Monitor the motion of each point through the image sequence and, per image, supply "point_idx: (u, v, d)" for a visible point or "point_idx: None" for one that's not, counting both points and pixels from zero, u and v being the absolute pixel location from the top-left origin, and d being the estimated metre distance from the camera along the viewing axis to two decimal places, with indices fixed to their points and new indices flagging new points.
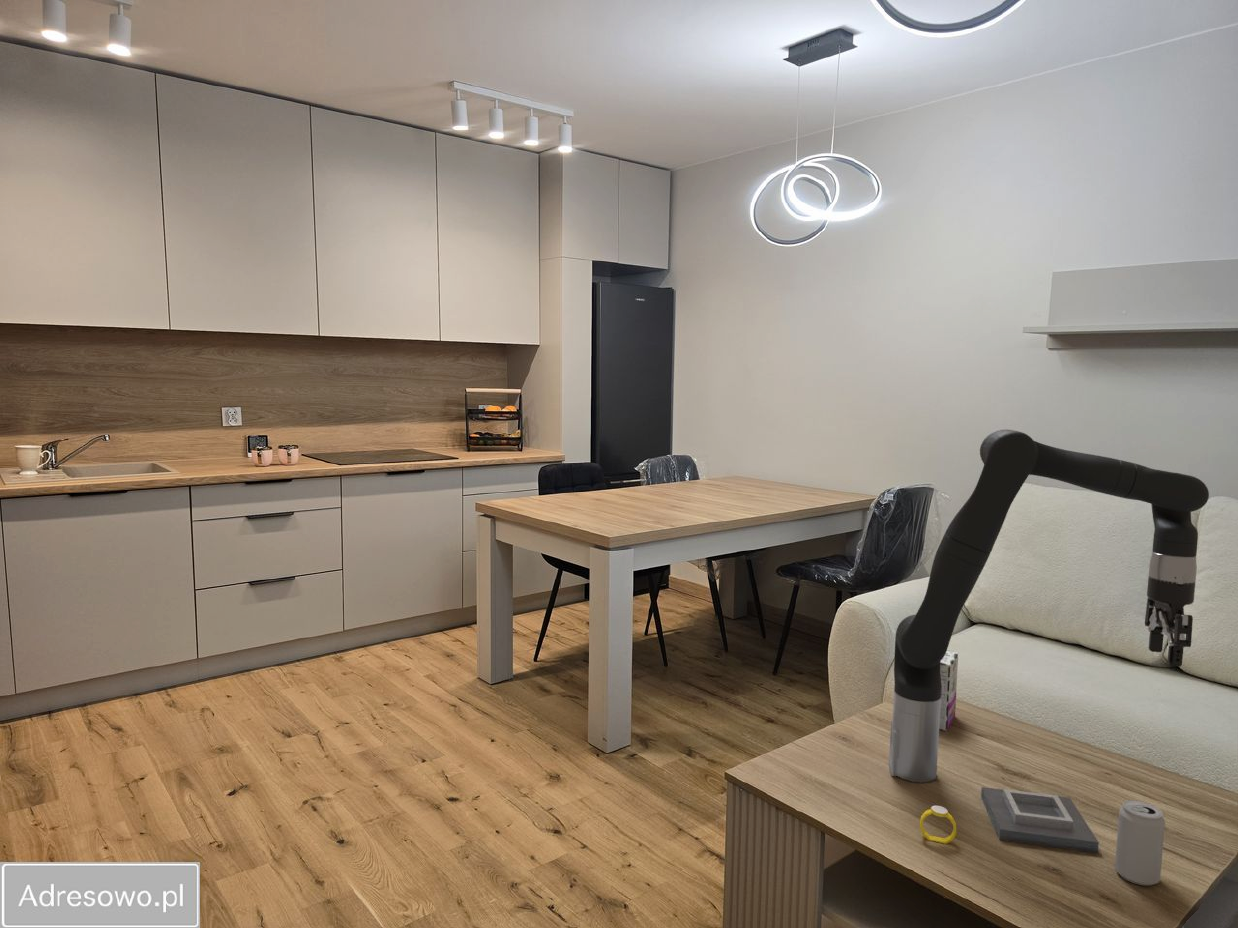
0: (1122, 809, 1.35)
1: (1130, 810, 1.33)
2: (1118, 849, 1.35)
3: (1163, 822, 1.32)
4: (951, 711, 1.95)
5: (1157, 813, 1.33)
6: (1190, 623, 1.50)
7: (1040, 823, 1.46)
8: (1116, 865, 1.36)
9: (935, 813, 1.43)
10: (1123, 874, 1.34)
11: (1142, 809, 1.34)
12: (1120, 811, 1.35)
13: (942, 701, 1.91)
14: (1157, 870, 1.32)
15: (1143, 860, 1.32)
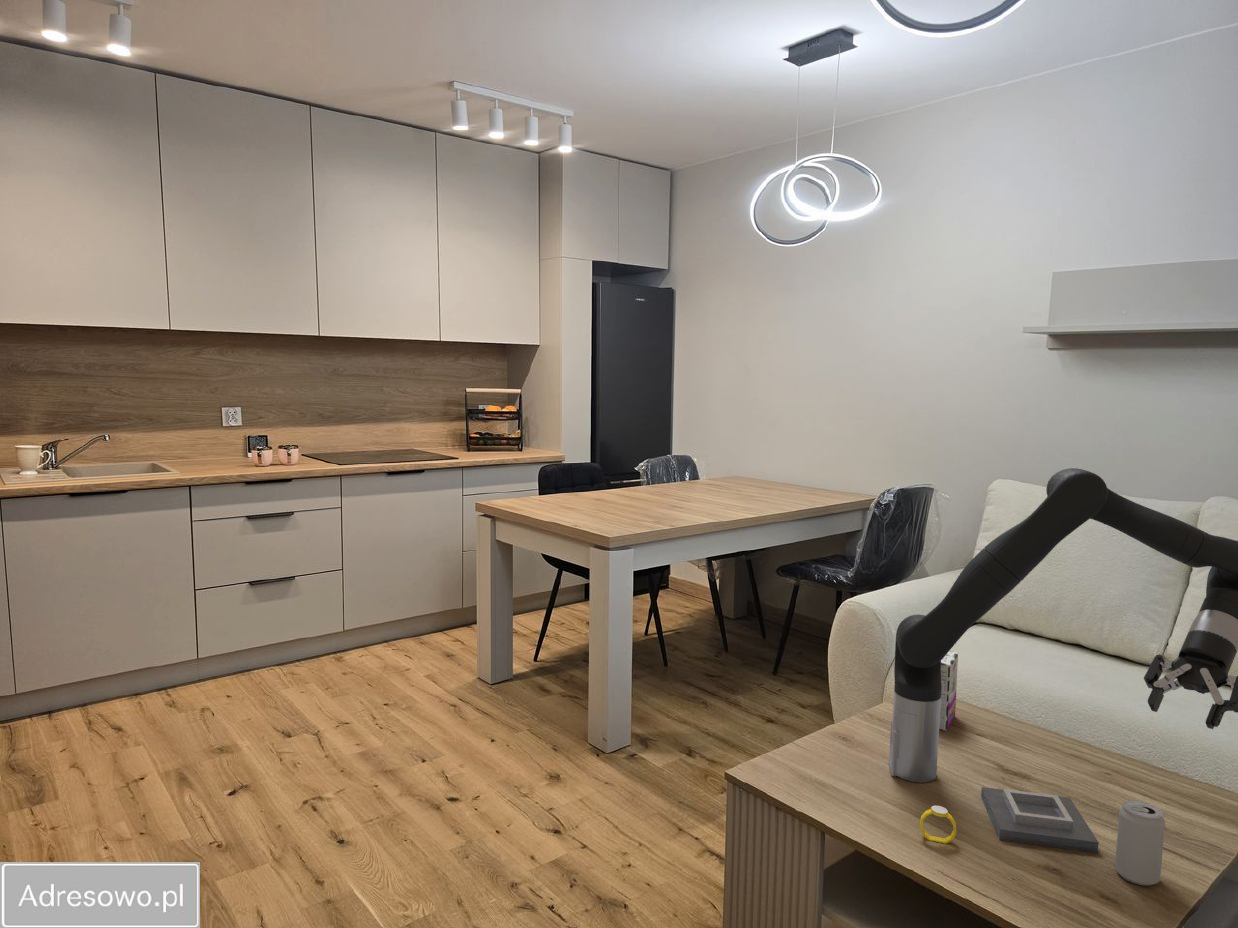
0: (1122, 809, 1.35)
1: (1130, 810, 1.33)
2: (1118, 849, 1.35)
3: (1163, 822, 1.32)
4: (951, 711, 1.95)
5: (1157, 813, 1.33)
6: None
7: (1040, 823, 1.46)
8: (1116, 865, 1.36)
9: (935, 813, 1.43)
10: (1123, 874, 1.34)
11: (1142, 809, 1.34)
12: (1120, 811, 1.35)
13: (942, 701, 1.91)
14: (1157, 870, 1.32)
15: (1143, 860, 1.32)
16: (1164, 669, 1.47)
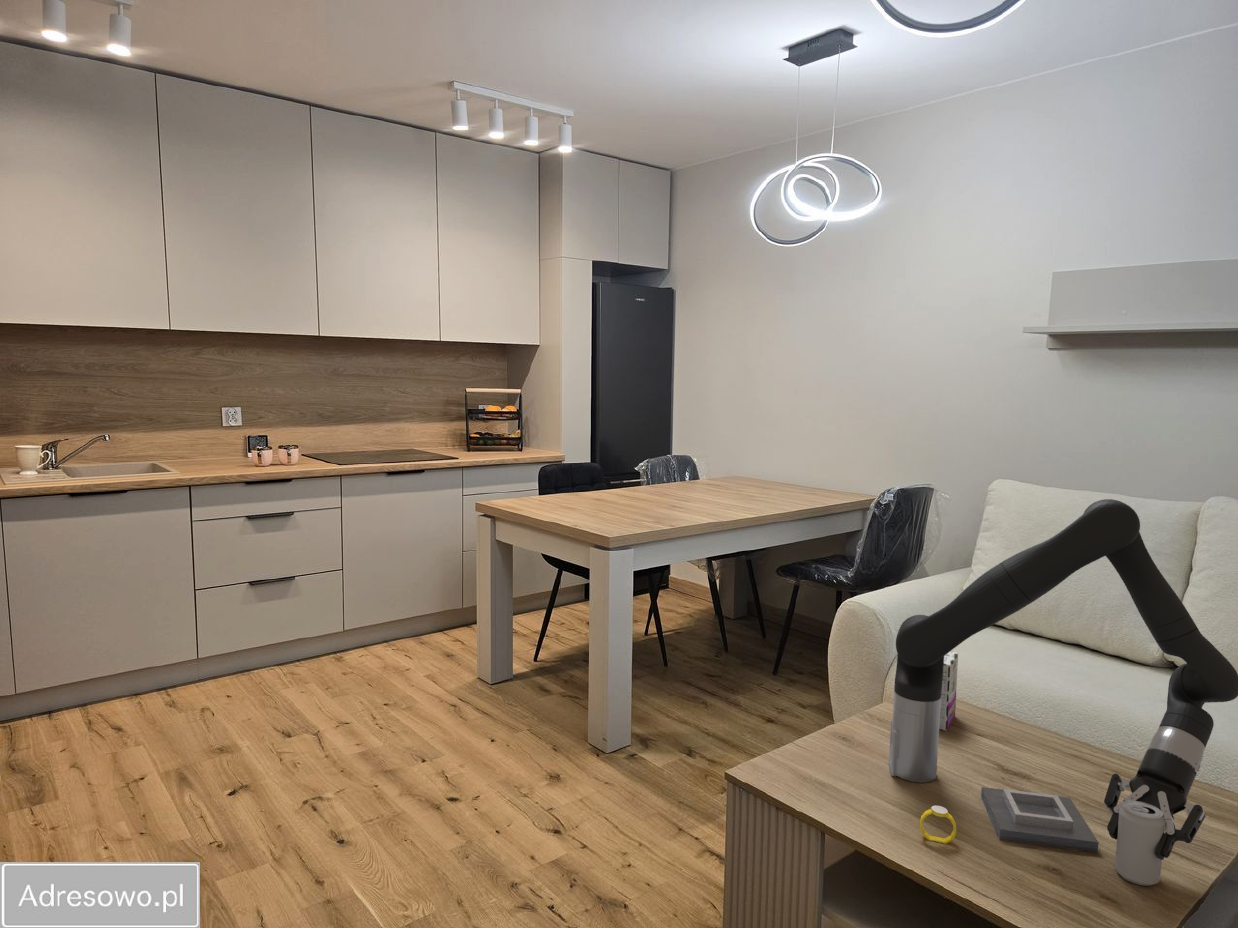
0: (1122, 809, 1.35)
1: (1130, 810, 1.33)
2: (1118, 849, 1.35)
3: (1163, 822, 1.32)
4: (951, 711, 1.95)
5: (1157, 813, 1.33)
6: (1202, 820, 1.31)
7: (1040, 823, 1.46)
8: (1116, 865, 1.36)
9: (935, 813, 1.43)
10: (1123, 874, 1.34)
11: (1142, 809, 1.34)
12: (1120, 811, 1.35)
13: (942, 701, 1.91)
14: (1157, 870, 1.32)
15: (1143, 860, 1.32)
16: (1122, 789, 1.40)
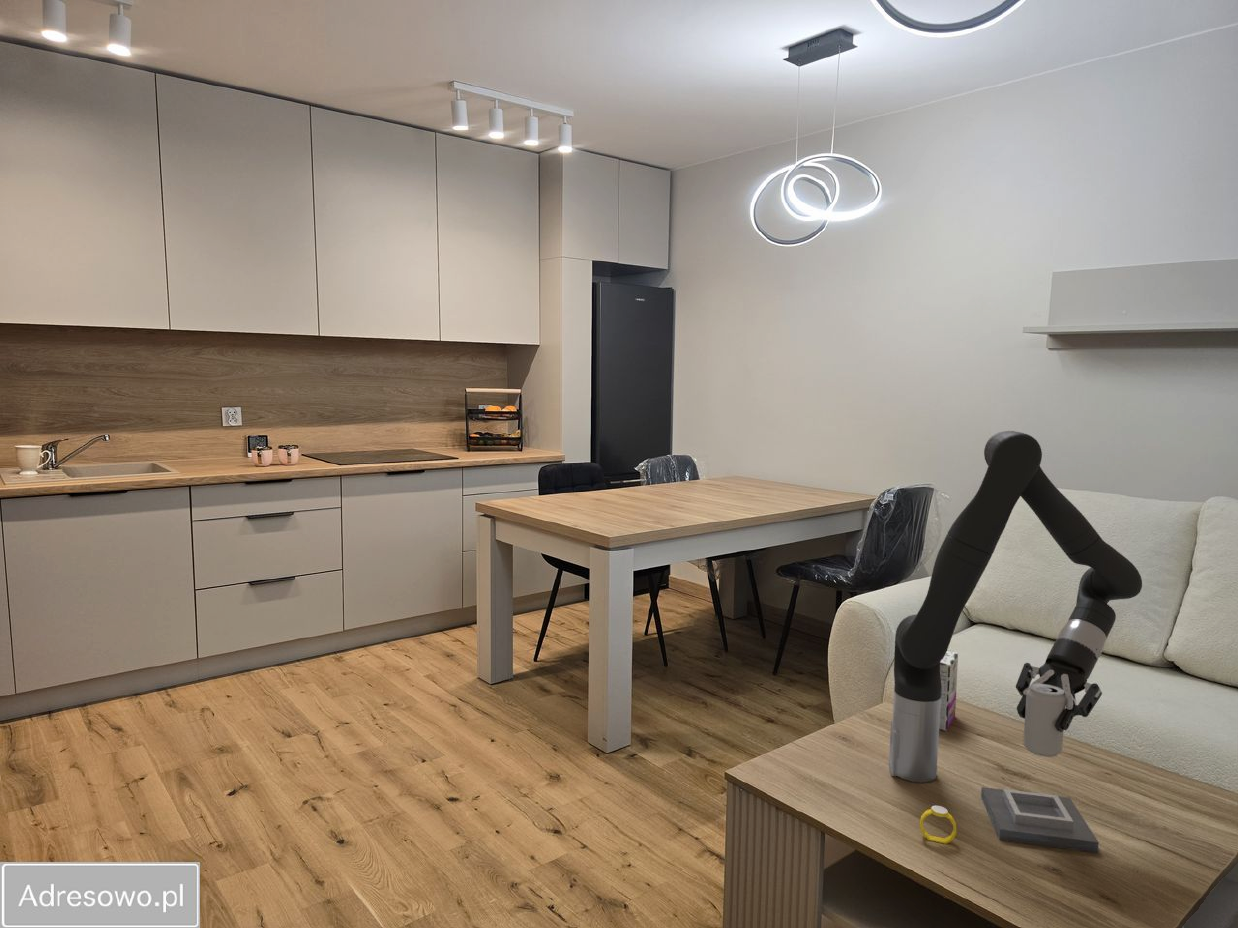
0: (1029, 690, 1.50)
1: (1035, 689, 1.48)
2: (1025, 726, 1.50)
3: (1064, 699, 1.46)
4: (951, 711, 1.95)
5: (1059, 692, 1.47)
6: (1098, 697, 1.46)
7: (1040, 823, 1.46)
8: (1023, 741, 1.50)
9: (935, 813, 1.43)
10: (1029, 747, 1.48)
11: (1046, 689, 1.48)
12: (1027, 692, 1.50)
13: (942, 701, 1.91)
14: (1058, 742, 1.46)
15: (1046, 733, 1.46)
16: (1033, 676, 1.55)
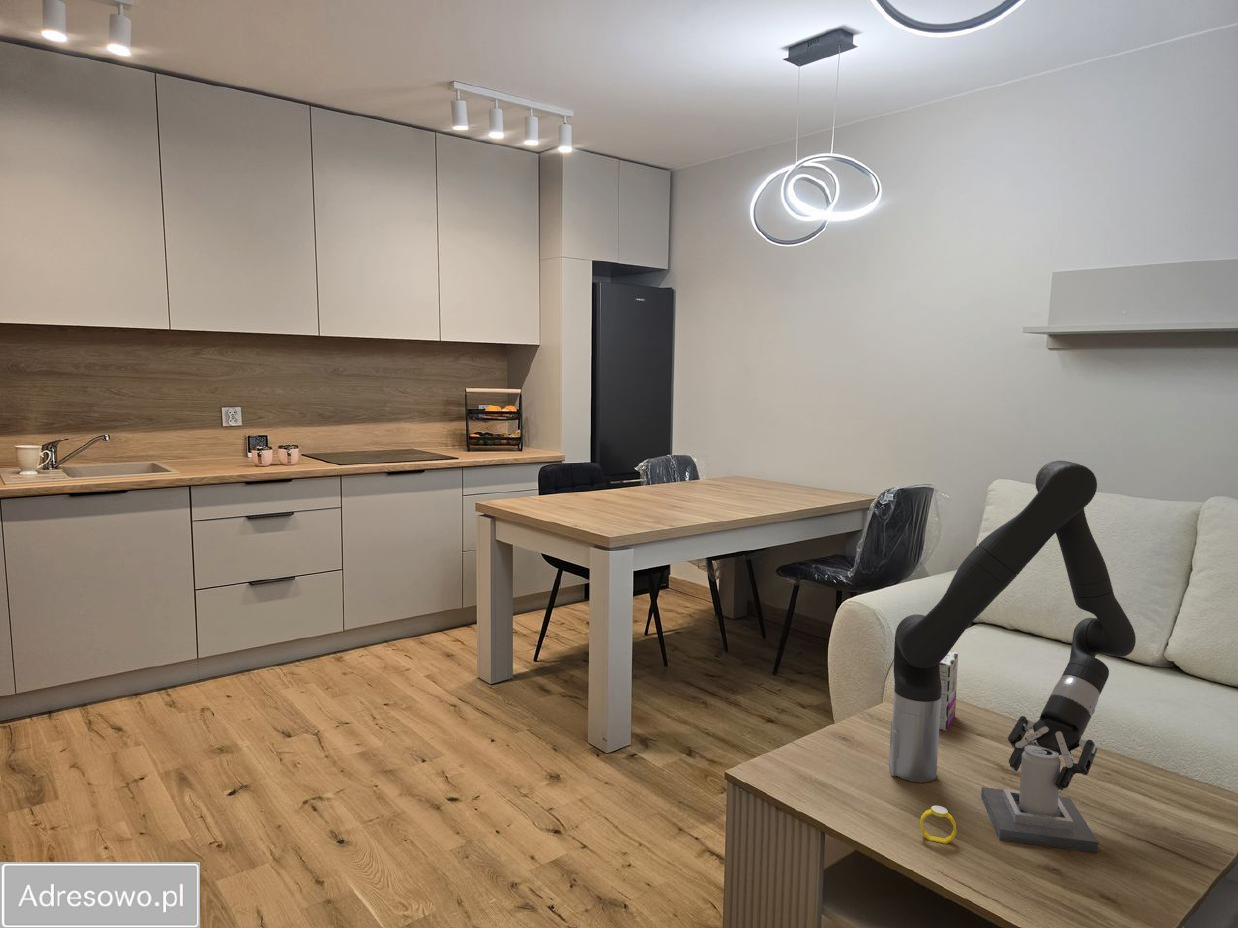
0: (1024, 752, 1.51)
1: (1030, 752, 1.50)
2: (1021, 787, 1.51)
3: (1058, 762, 1.48)
4: (951, 711, 1.95)
5: (1054, 754, 1.49)
6: (1094, 753, 1.47)
7: (1040, 823, 1.46)
8: (1019, 802, 1.52)
9: (935, 813, 1.43)
10: (1024, 809, 1.50)
11: (1041, 751, 1.50)
12: (1022, 753, 1.51)
13: (942, 701, 1.91)
14: (1053, 805, 1.48)
15: (1041, 796, 1.48)
16: (1027, 730, 1.57)
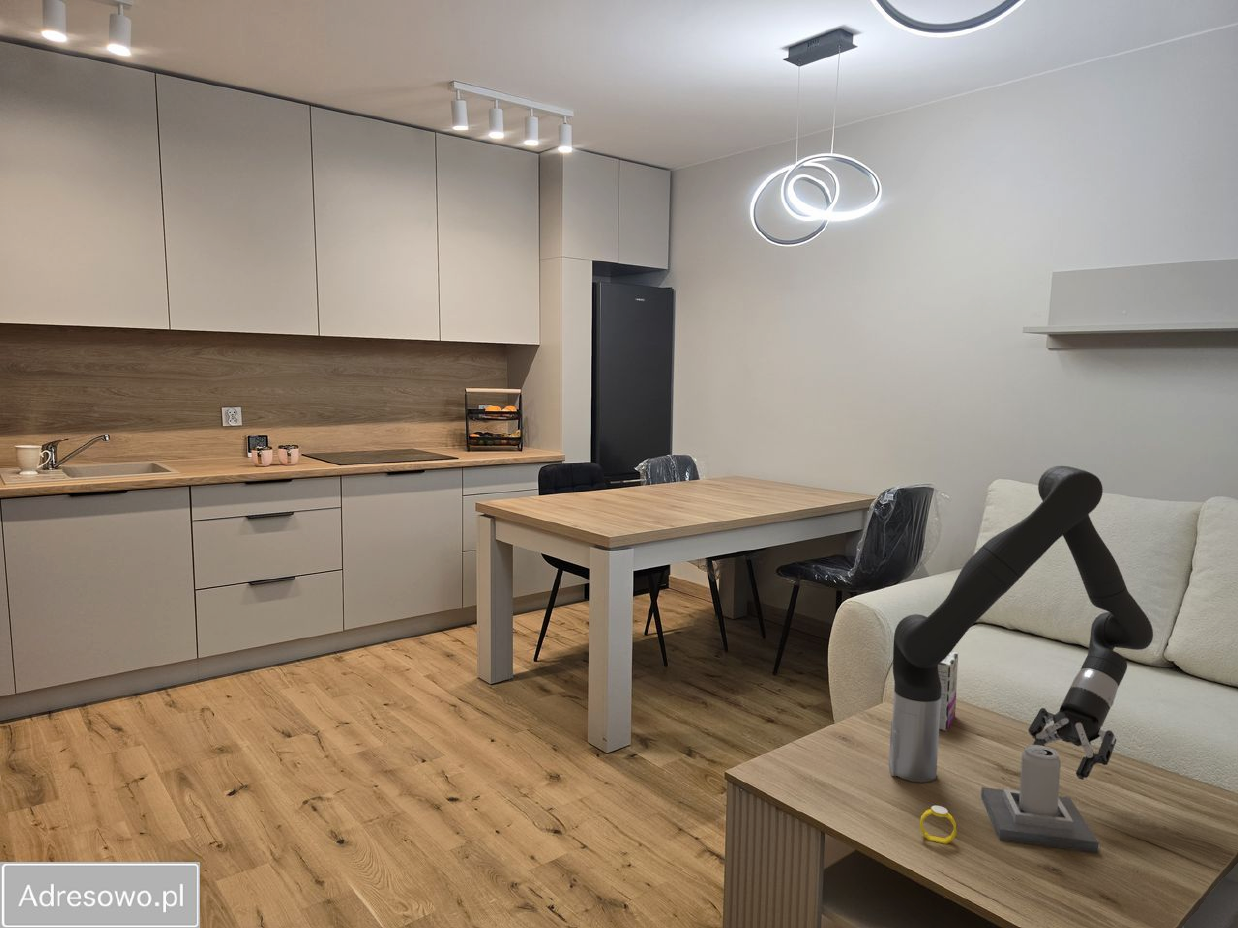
0: (1024, 752, 1.51)
1: (1030, 752, 1.50)
2: (1021, 787, 1.51)
3: (1058, 762, 1.48)
4: (951, 711, 1.95)
5: (1054, 754, 1.49)
6: (1114, 743, 1.51)
7: (1040, 823, 1.46)
8: (1019, 802, 1.52)
9: (935, 813, 1.43)
10: (1024, 809, 1.50)
11: (1041, 751, 1.50)
12: (1022, 754, 1.51)
13: (942, 701, 1.91)
14: (1053, 805, 1.48)
15: (1041, 796, 1.48)
16: (1047, 722, 1.61)
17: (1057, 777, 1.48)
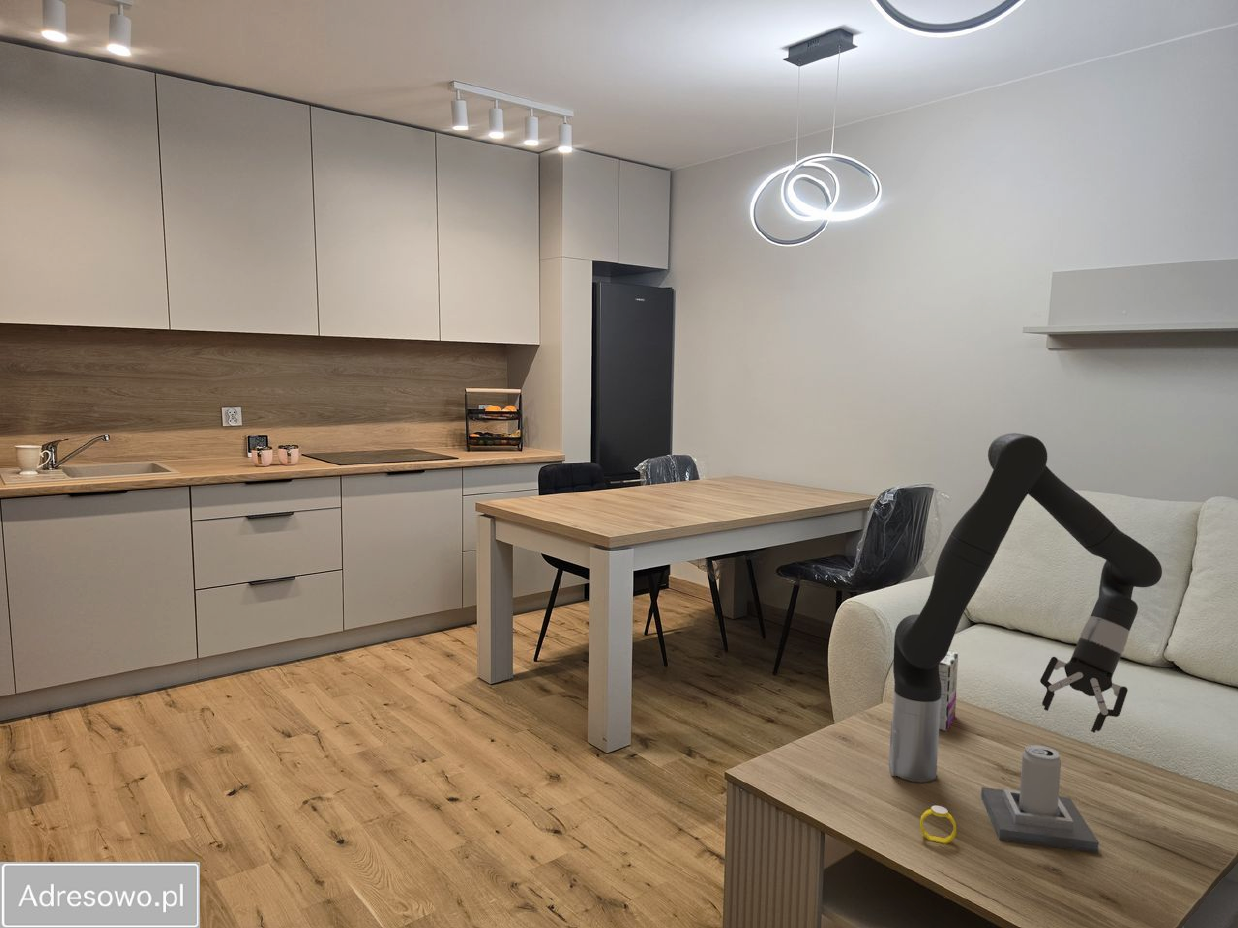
0: (1025, 752, 1.51)
1: (1031, 752, 1.50)
2: (1021, 787, 1.51)
3: (1059, 762, 1.48)
4: (951, 711, 1.95)
5: (1054, 755, 1.49)
6: None
7: (1040, 823, 1.46)
8: (1019, 802, 1.52)
9: (935, 813, 1.43)
10: (1024, 809, 1.50)
11: (1042, 751, 1.50)
12: (1023, 754, 1.51)
13: (942, 701, 1.91)
14: (1053, 805, 1.48)
15: (1041, 796, 1.48)
16: (1057, 669, 1.61)
17: (1057, 777, 1.48)
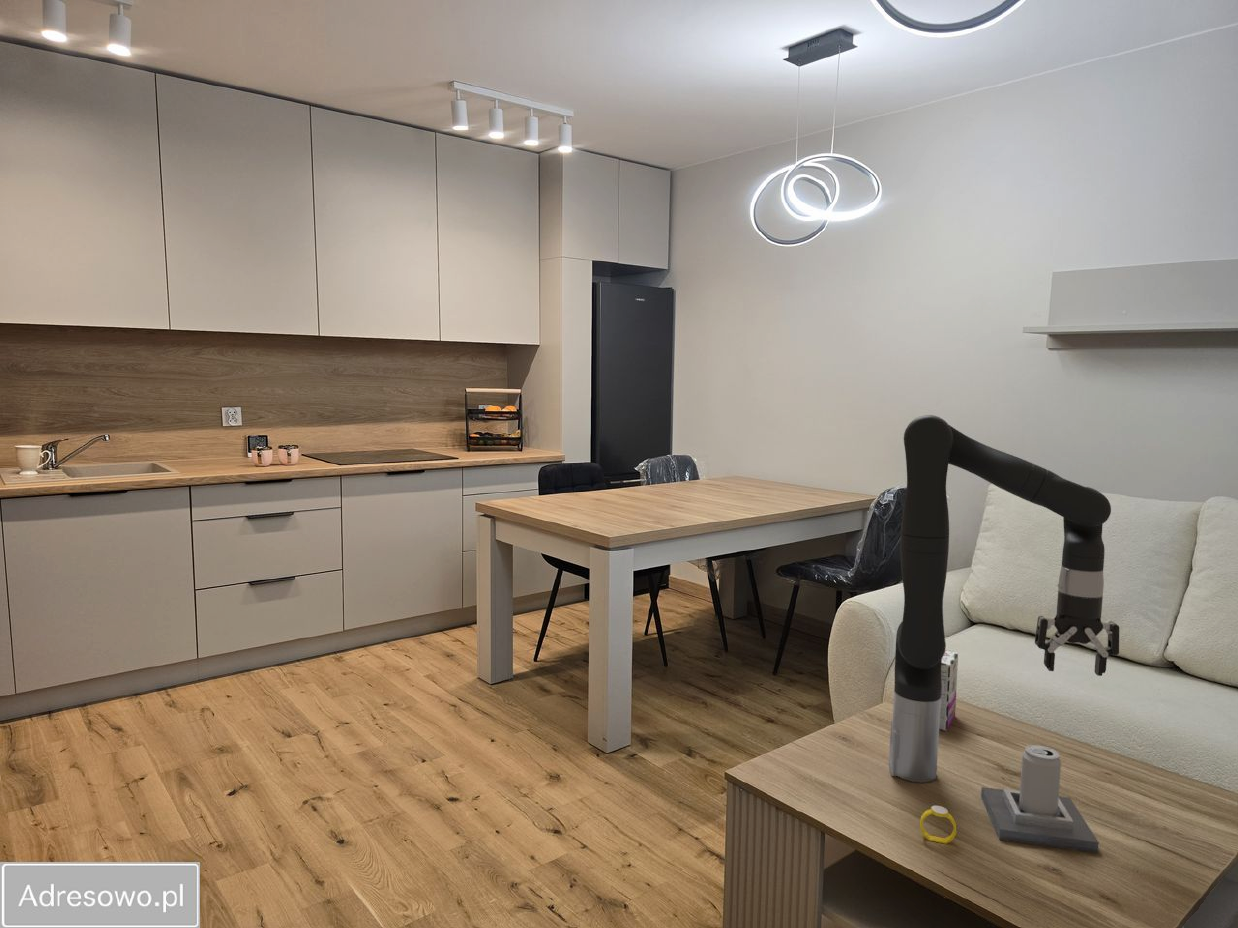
0: (1024, 752, 1.51)
1: (1030, 752, 1.50)
2: (1021, 787, 1.51)
3: (1059, 762, 1.48)
4: (951, 711, 1.95)
5: (1054, 755, 1.49)
6: None
7: (1040, 823, 1.46)
8: (1019, 802, 1.52)
9: (935, 813, 1.43)
10: (1024, 809, 1.50)
11: (1042, 752, 1.50)
12: (1023, 754, 1.51)
13: (942, 701, 1.91)
14: (1053, 805, 1.48)
15: (1041, 796, 1.48)
16: None
17: (1057, 777, 1.48)
